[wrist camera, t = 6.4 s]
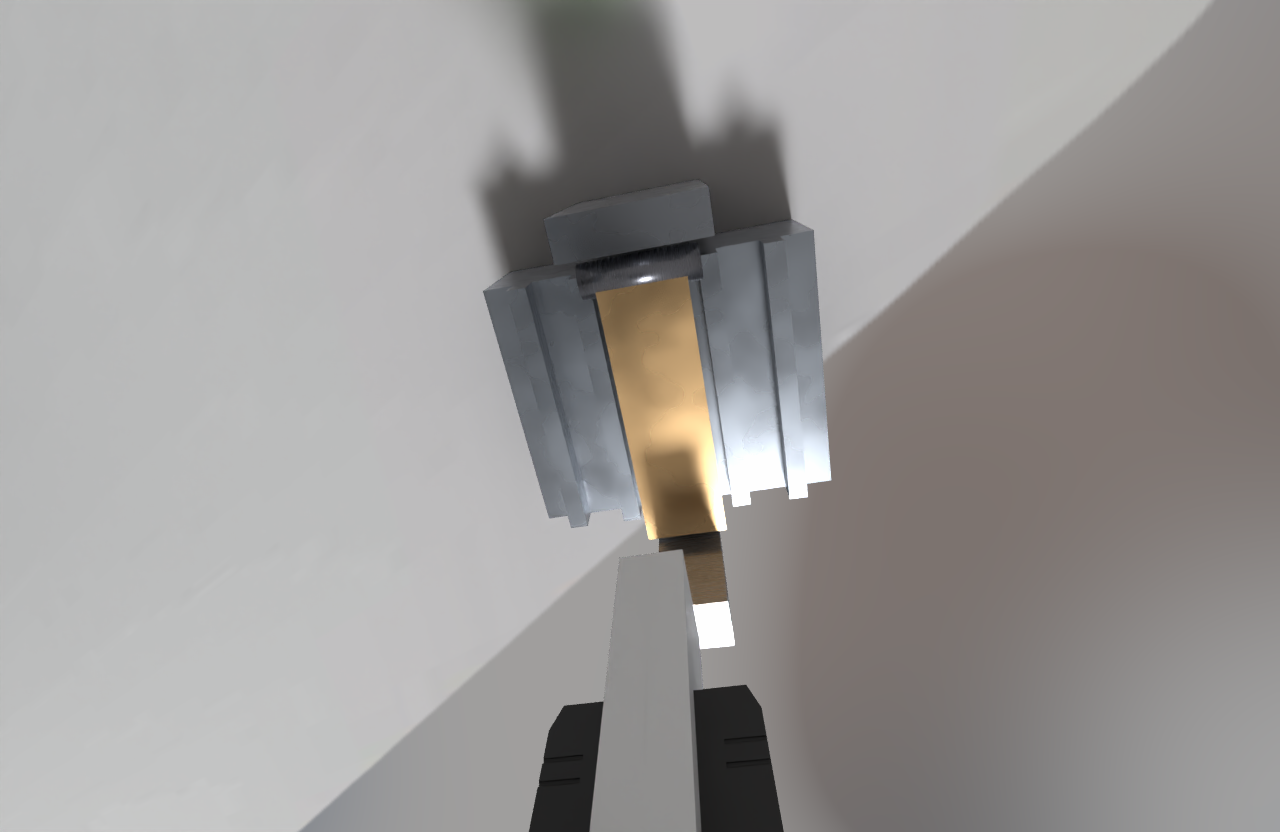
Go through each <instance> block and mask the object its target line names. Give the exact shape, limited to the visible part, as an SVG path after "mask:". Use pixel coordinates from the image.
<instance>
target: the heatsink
mask: <svg viewBox="0 0 1280 832" xmlns="http://www.w3.org/2000/svg"><path fill="white" fill-rule="evenodd" d="M543 220H544V224H545V228H546V233H547V237H548V241H549V245H550V249H551V253H552V258H553V262H554V264H551V265H546V266H540V267H535V268H530V269H524V270H519V271H514V272H510V273H508V274H507V275H505V276H504V277H503V278H501V279H500V280H498V281H497V282H495V283H494V284H493V285H491V286H490V287H488V288H487V289H485V290H484V291H483V293H484V296H485V300H486V303H487V306H488V310H489V313H490V317H491V320H492V324H493V327H494V330H495V334H496V337H497V341H498V344H499V348H500V351H501V355H502V358H503V361H504V365H505V368H506V372H507V375H508V379H509V382H510V385H511V389H512V392H513V396H514V399H515V403H516V406H517V409H518V413H519V416H520V420H521V423H522V427H523V430H524V433H525V437H526V440H527V444H528V447H529V451H530V454H531V457H532V461H533V464H534V468H535V471H536V475H537V478H538V481H539V485H540V488H541V492H542V495H543V499H544V502H545V505H546V509H547V512H548V516H549V518H555V517H562V516H568V518H569V522H570V525H571V528H575V527H583V526H588V522H589V517H590V513H592V512H599V511H606V510H614V509H621V510H622V514H623V518H624V521H628V520H636V519H641V511H642V505H641V500H640V496H639V491H638V486H637V482H636V477H635V473H634V468H633V463H632V459H631V454H630V449H629V445H628V440H627V436H626V431H625V426H624V422H623V417H622V413H621V408H620V403H619V399H618V394H617V390H616V385H615V380H614V376H613V371H612V366H611V362H610V357H609V353H608V348H607V343H606V339H605V334H604V330H603V325H602V320H601V316H600V311H599V306H598V302H597V298H596V299H590V300H585V301H583V300H582V298H581V295H580V292H579V289H578V285H577V279H576V264H579V263H584V262H590V261H595V260H600V259H606V258H611V257H616V256H622V255H627V254H632V253H638V252H643V251H649V250H654V249H659V248H665V247H670V246H675V245H681V244H686V243H691V242H697V241H698V243H699V249H700V255H701V262H702V269H703V276H704V279H702V280H696V281H691V282H689V289H690V295H691V301H692V308H693V314H694V321H695V327H696V334H697V340H698V347H699V353H700V360H701V366H702V373H703V379H704V386H705V392H706V398H707V405H708V411H709V418H710V424H711V431H712V437H713V444H714V450H715V457H716V463H717V470H718V476H719V482H720V489H721V495H725V494H731V496H732V501H733V506H741V505H749V504H751V502H750V495H749V491H755V490H762V489H770V488H777V487H784V486H786V489H787V492H788V495H789V498H790V499H795V498H802V497H808V494H807V483H814V482H821V481H828V480H831V473H830V458H829V444H828V430H827V417H826V402H825V387H824V374H823V358H822V344H821V330H820V316H819V301H818V287H817V273H816V259H815V244H814V230H812V229H810V228H808V227H806V226H804V225H802V224H800V223H798V222H796V221H794V220H792V219H791V220H785V221H780V222H775V223H769V224H764V225H759V226H753V227H748V228H743V229H737V230H732V231H727V232H721V233H716V234H715V231H714V224H713V216H712V209H711V201H710V194H709V187H708V186H707V185H706V184H704V183H703V182H702V181H700V180H699V179H696V180H691V181H686V182H681V183H676V184H671V185H666V186H661V187H656V188H651V189H646V190H641V191H636V192H631V193H626V194H621V195H616V196H611V197H606V198H601V199H596V200H591V201H586V202H581V203H577V204H575V205H573V206H570V207H568V208H566V209H564V210H562V211H560V212H558V213H556V214H553V215H551V216H549V217H547V218H545V219H543ZM681 549H682V550H683V555H684V560H685V566H686V571H687V576H688V581H689V586H690V591H691V597H692V602H693V607H694V612H695V617H696V623H697V628H698V633H699V638H700V649H702V648H712V647H722V646H732V645H734V637H733V629H732V621H731V614H730V605H729V598H728V590H727V582H726V574H725V567H724V560H723V551H722V544H721V536H720V531H713V532H705V533H697V534H690V535H682V536H674V537H666V538H659V552H666V551H674V550H681Z"/></svg>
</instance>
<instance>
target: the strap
mask: <svg viewBox="0 0 1280 832" xmlns="http://www.w3.org/2000/svg"><path fill="white" fill-rule="evenodd" d="M576 279H577V285H578V289H579V292H580V295H581V298H582V300H583V301H585V300H590V299H596V298H597V302H598V306H599V311H600V316H601V320H602V325H603V330H604V334H605V339H606V343H607V348H608V353H609V357H610V362H611V366H612V371H613V376H614V380H615V385H616V390H617V394H618V399H619V403H620V408H621V413H622V417H623V422H624V426H625V431H626V436H627V440H628V445H629V449H630V454H631V459H632V463H633V468H634V473H635V477H636V482H637V486H638V491H639V496H640V500H641V505H642V509H643V514H644V519H645V523H646V528H647V533H648V537H649V540H651V539H658V538H666V537H674V536H682V535H690V534H697V533H705V532H713V531H721V530H727V528H726V522H725V515H724V508H723V502H722V495H721V489H720V482H719V476H718V470H717V463H716V457H715V450H714V444H713V437H712V431H711V424H710V418H709V411H708V405H707V398H706V392H705V386H704V379H703V373H702V366H701V360H700V353H699V347H698V340H697V334H696V327H695V321H694V314H693V308H692V301H691V295H690V289H689V282H691V281H696V280H702V279H704V276H703V269H702V262H701V255H700V249H699V243H698V241H697V242H691V243H686V244H681V245H675V246H670V247H665V248H659V249H654V250H649V251H643V252H638V253H632V254H627V255H622V256H616V257H611V258H606V259H600V260H595V261H590V262H584V263H579V264H576Z"/></svg>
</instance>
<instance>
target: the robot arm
mask: <svg viewBox="0 0 1280 832" xmlns="http://www.w3.org/2000/svg"><path fill="white" fill-rule="evenodd" d="M529 832H784V831H783V825H782V820H781V814H780V809H779V804H778V798H777V792H776V786H775V781H774V775H773V770H772V765H771V759H770V754H769V747H768V742H767V736H766V731H765V725H764V720H763V714H762V708H761V706H760V705H759V703H758V702H757V700H756V699H755V697H754V696H753V694H752V693H751V691H750V690H749V688H748V687H747V685H740V686H730V687H721V688H711V689H703V678H702V664H701V651H700V638H699V633H698V628H697V623H696V617H695V612H694V607H693V602H692V597H691V591H690V586H689V581H688V576H687V571H686V566H685V560H684V555H683V550H682V549H681V550H674V551H666V552H659V553H651V554H644V555H636V556H629V557H622V558H619V566H618V576H617V584H616V594H615V603H614V612H613V622H612V630H611V639H610V649H609V657H608V667H607V676H606V685H605V695H604V702H595V703H587V704H577V705H567V706H564V707H563V708H562V710H561V712H560V714H559V715H558V717H557V719H556V720H555V722H554V723H553V725H552V727H551V728H550V730H549V733H548V738H547V743H546V748H545V753H544V764H542V769H541V774H540V779H539V787H538V789H537V794H536V799H535V804H534V809H533V814H532V819H531V824H530V829H529Z"/></svg>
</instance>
